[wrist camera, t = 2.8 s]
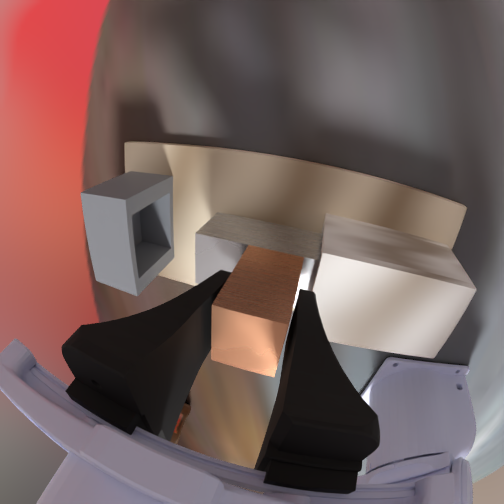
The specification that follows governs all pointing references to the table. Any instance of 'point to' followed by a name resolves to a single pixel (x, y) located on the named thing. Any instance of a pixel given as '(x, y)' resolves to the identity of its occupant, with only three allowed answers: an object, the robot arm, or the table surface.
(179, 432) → the tin
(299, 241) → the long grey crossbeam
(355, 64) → the table surface
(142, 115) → the table surface
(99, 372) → the robot arm
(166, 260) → the socket
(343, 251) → the tube stand
